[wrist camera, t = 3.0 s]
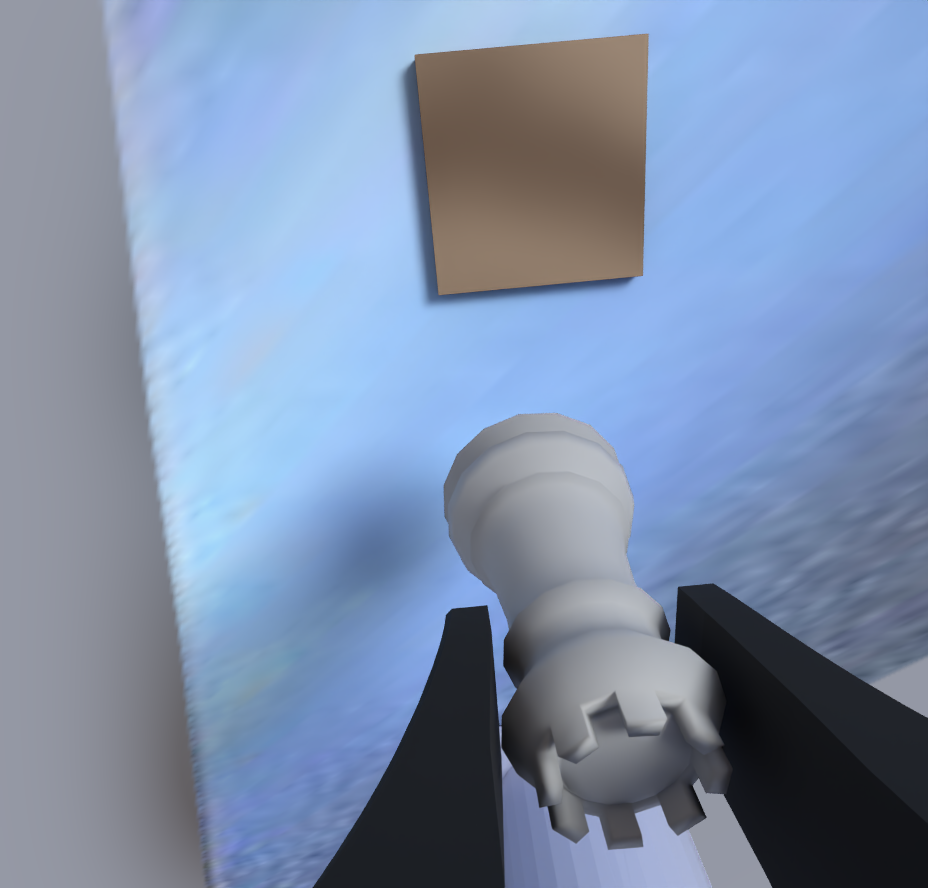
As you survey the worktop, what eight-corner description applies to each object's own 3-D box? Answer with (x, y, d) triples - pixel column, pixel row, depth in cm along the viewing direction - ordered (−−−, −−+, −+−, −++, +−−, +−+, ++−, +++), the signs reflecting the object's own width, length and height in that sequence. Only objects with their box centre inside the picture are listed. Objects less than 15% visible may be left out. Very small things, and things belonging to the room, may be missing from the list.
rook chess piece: (591, 569, 16) (732, 898, 9) (428, 550, 15) (435, 886, 8) (641, 419, 14) (869, 674, 7) (459, 390, 14) (502, 637, 6)
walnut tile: (636, 273, 18) (642, 275, 17) (438, 292, 18) (438, 295, 17) (640, 39, 16) (648, 33, 15) (415, 60, 16) (414, 54, 15)
